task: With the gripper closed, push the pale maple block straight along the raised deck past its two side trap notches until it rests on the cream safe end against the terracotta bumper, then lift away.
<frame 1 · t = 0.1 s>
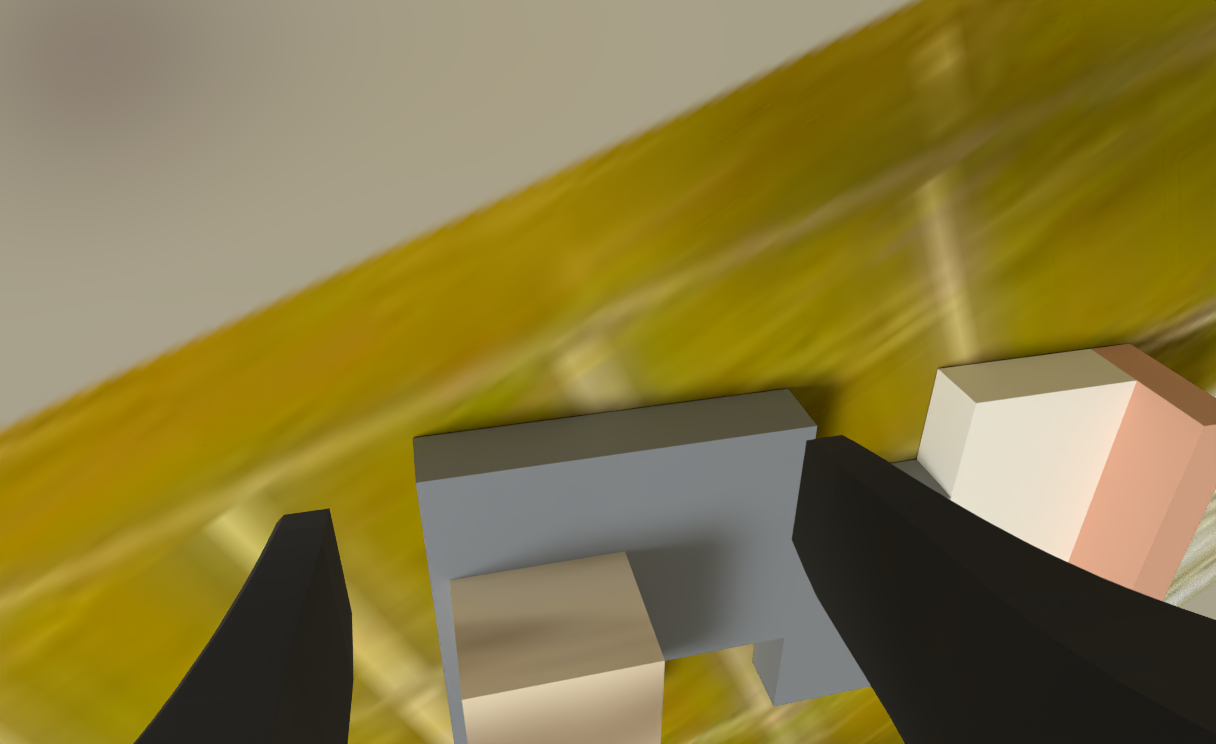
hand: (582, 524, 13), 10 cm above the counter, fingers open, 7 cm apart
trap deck: (782, 537, 29), on the counter
maple block: (542, 627, 25), point 2 cm above the counter, touching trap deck
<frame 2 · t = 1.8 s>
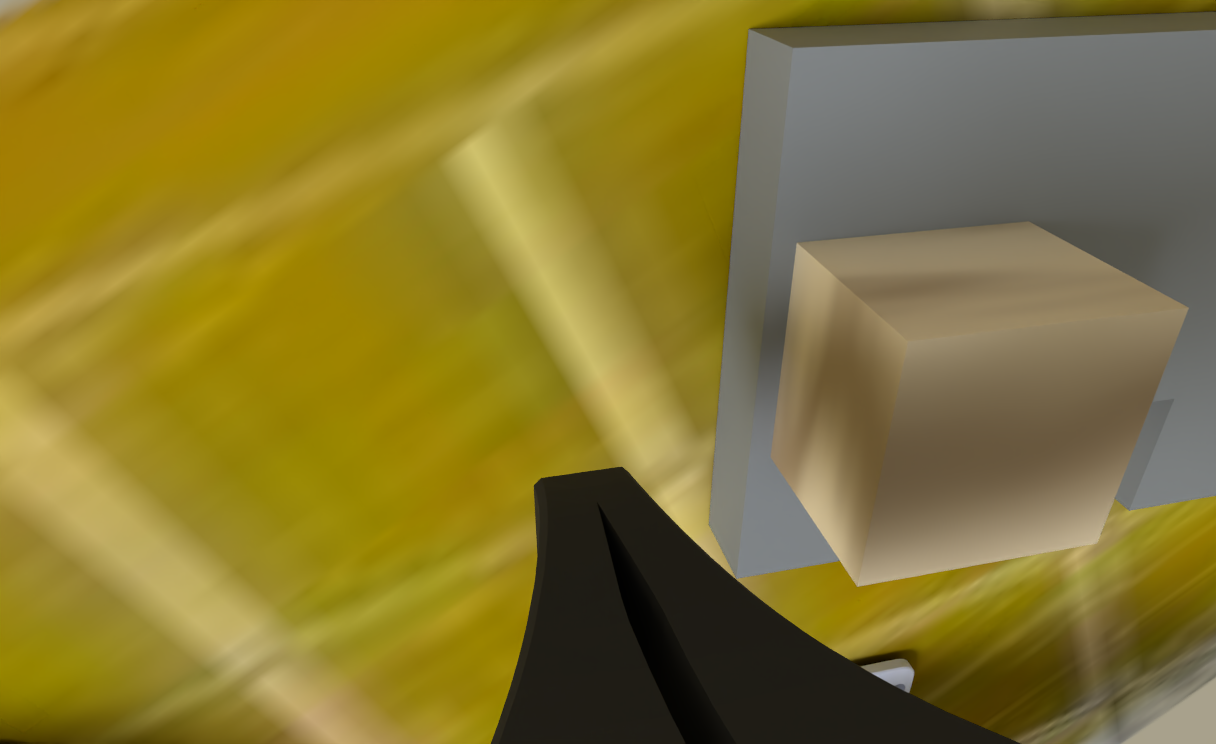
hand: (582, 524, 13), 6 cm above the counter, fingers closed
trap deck: (1162, 269, 21), on the counter
maple block: (893, 344, 18), point 2 cm above the counter, touching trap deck
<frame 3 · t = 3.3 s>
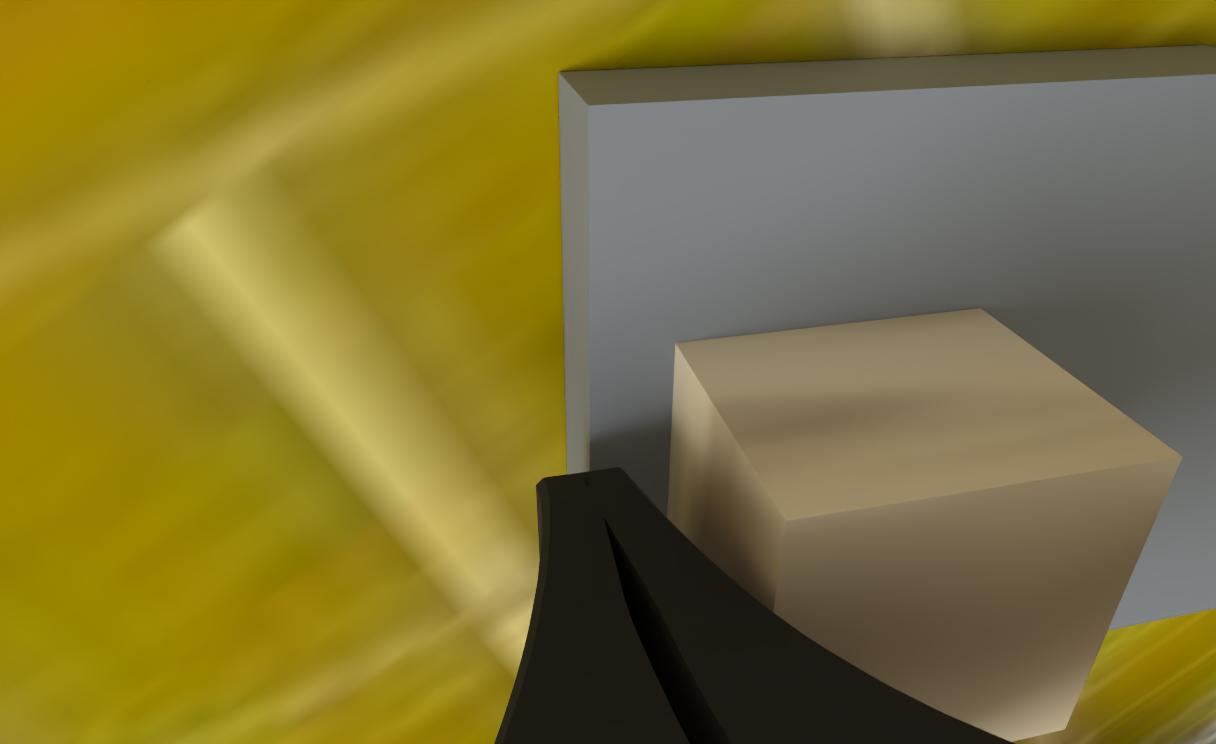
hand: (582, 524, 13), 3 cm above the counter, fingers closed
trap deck: (1117, 353, 17), on the counter
maple block: (813, 458, 14), point 2 cm above the counter, touching gripper
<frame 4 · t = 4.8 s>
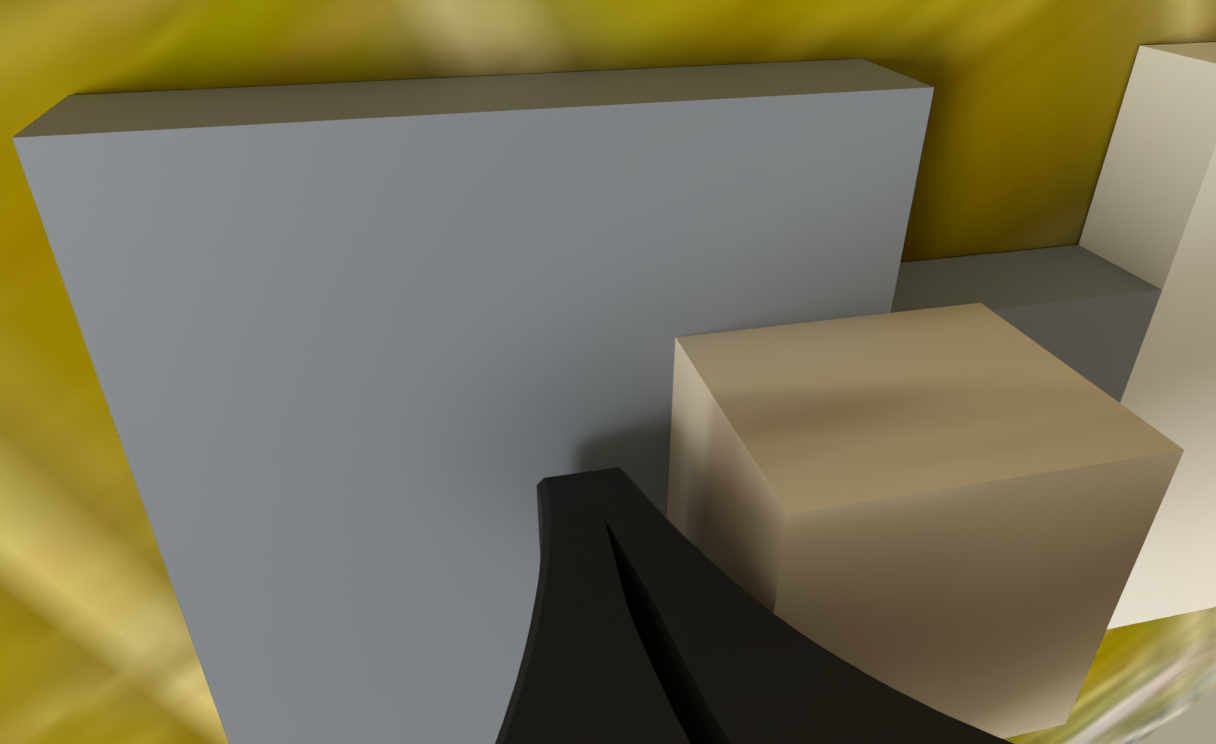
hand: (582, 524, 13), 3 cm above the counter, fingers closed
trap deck: (836, 388, 16), on the counter
maple block: (812, 453, 14), point 2 cm above the counter, touching gripper, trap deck
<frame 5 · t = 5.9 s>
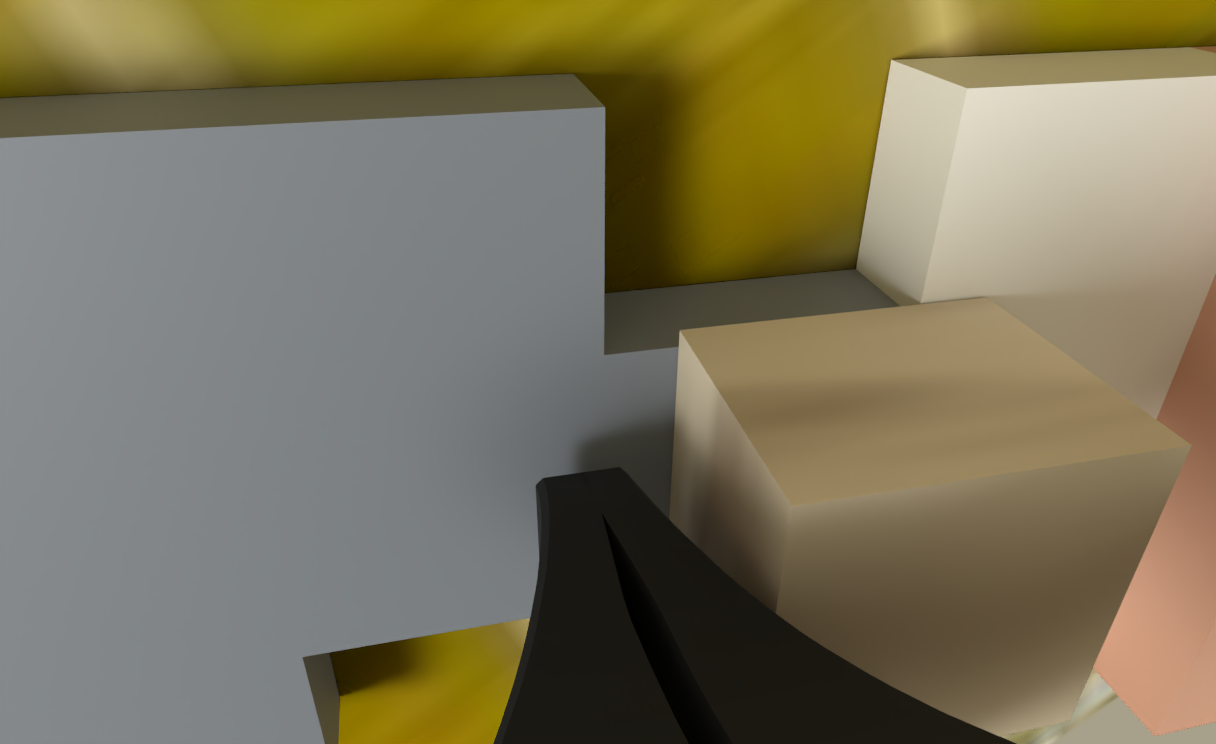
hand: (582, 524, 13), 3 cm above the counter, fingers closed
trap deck: (605, 419, 15), on the counter
maple block: (817, 447, 14), point 2 cm above the counter, touching gripper, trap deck
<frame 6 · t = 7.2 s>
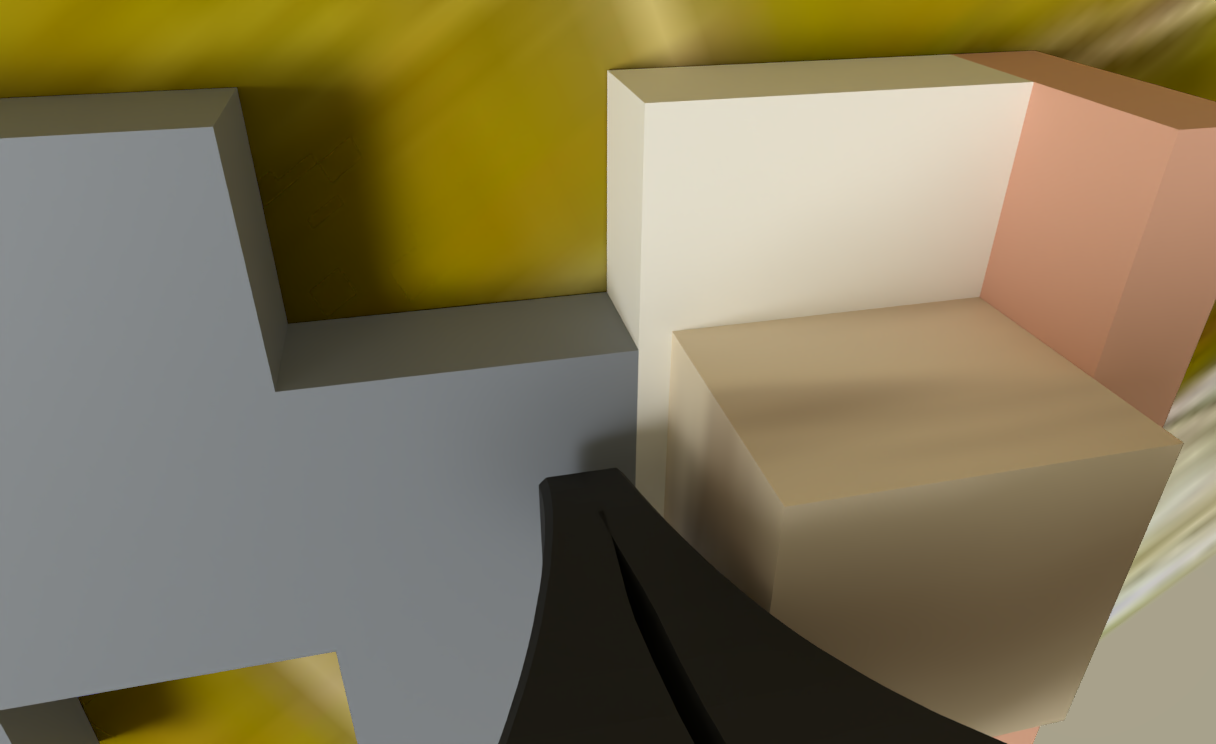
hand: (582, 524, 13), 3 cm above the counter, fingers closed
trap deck: (347, 452, 14), on the counter
maple block: (810, 448, 14), point 2 cm above the counter, touching gripper, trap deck
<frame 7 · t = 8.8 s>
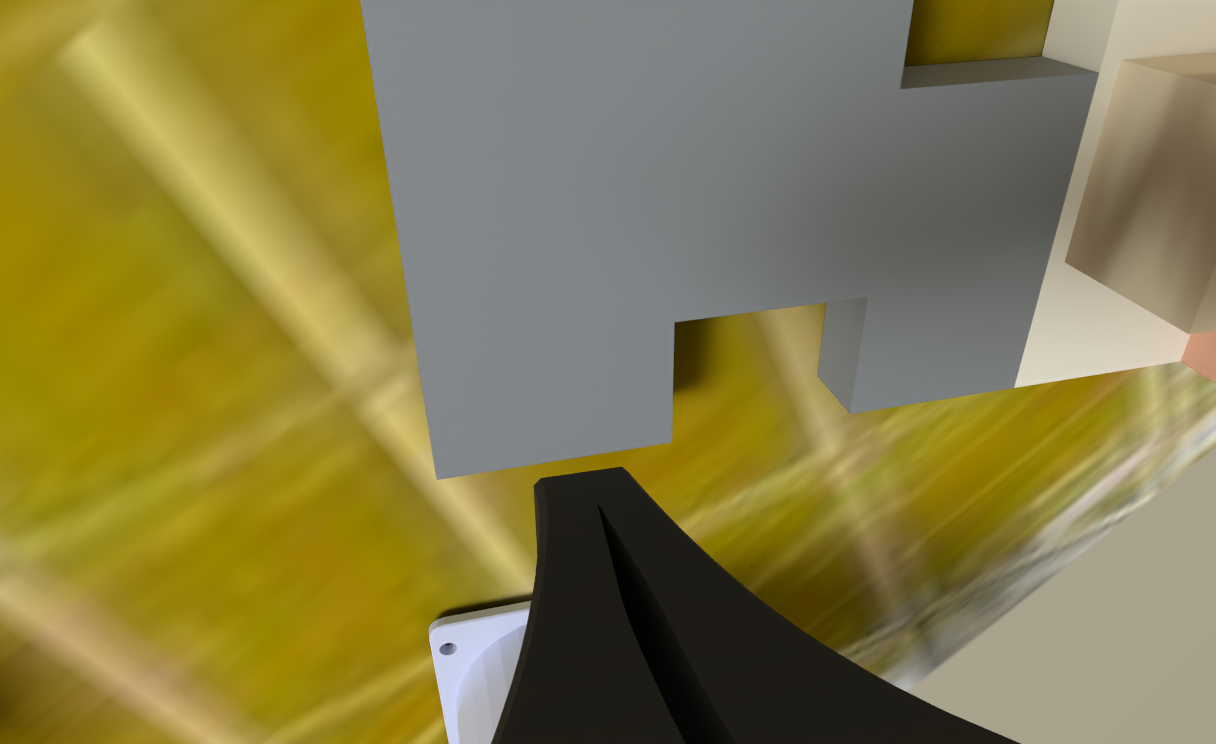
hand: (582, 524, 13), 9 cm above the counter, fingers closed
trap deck: (861, 171, 21), on the counter
maple block: (1178, 158, 21), point 2 cm above the counter, touching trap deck
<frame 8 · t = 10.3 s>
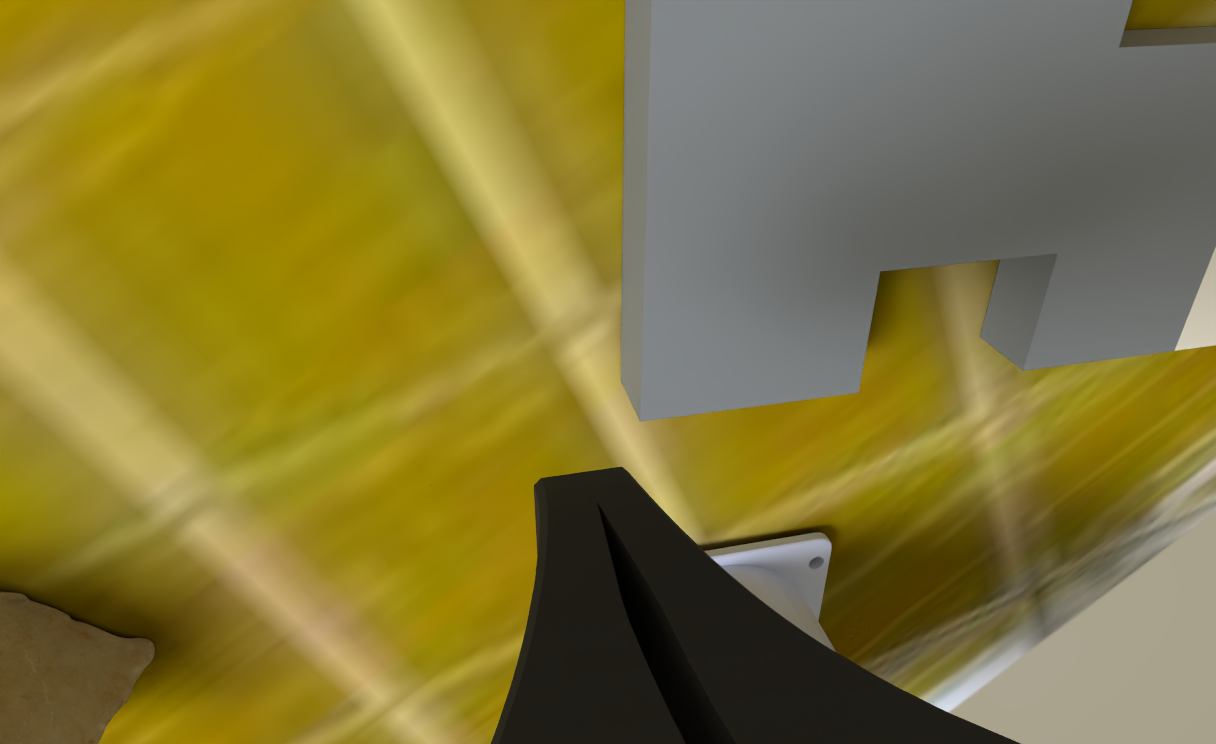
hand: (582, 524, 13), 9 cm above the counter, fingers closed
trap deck: (1049, 133, 22), on the counter
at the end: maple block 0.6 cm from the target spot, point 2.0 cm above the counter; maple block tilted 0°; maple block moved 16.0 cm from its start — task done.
